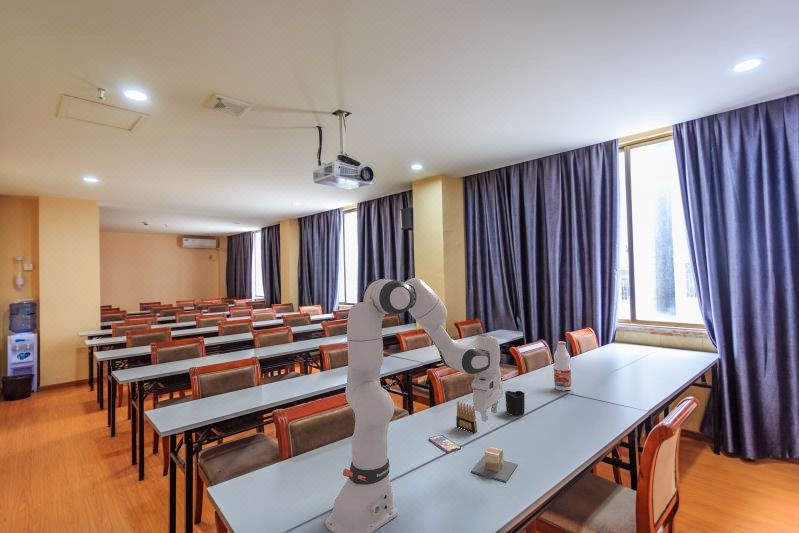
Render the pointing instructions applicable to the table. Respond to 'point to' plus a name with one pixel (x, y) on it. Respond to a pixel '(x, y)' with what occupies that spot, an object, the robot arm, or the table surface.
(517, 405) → the pen holder
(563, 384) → the fruit juice
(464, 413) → the ammunition clip
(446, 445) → the smartphone
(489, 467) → the maple block
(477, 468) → the mat
